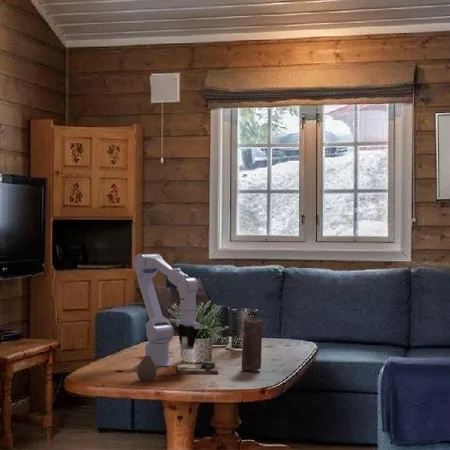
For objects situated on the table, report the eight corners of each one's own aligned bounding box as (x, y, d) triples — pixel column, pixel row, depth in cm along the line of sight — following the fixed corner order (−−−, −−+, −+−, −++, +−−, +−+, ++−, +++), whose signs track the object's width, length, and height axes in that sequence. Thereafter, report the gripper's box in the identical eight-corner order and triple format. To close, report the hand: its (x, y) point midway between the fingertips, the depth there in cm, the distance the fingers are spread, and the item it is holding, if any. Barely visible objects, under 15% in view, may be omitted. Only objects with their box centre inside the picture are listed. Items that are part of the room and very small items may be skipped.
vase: (137, 379, 323) (137, 354, 323) (156, 379, 324) (156, 354, 324) (136, 383, 316) (137, 358, 316) (156, 383, 317) (157, 358, 317)
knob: (179, 347, 343) (179, 335, 343) (189, 347, 345) (190, 334, 345) (185, 349, 339) (185, 337, 339) (195, 348, 341) (196, 336, 341)
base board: (177, 373, 335) (177, 365, 335) (177, 367, 349) (177, 358, 349) (218, 374, 336) (218, 365, 336) (216, 367, 350) (216, 359, 350)
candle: (263, 370, 346) (264, 317, 345) (258, 373, 339) (259, 320, 338) (244, 368, 348) (245, 316, 348) (238, 371, 341) (239, 318, 341)
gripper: (169, 308, 345) (168, 343, 346) (188, 312, 333) (188, 349, 334) (184, 307, 349) (184, 342, 350) (204, 311, 337) (204, 347, 337)
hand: (187, 345), depth 342 cm, fingers closed on knob, 5 cm apart
